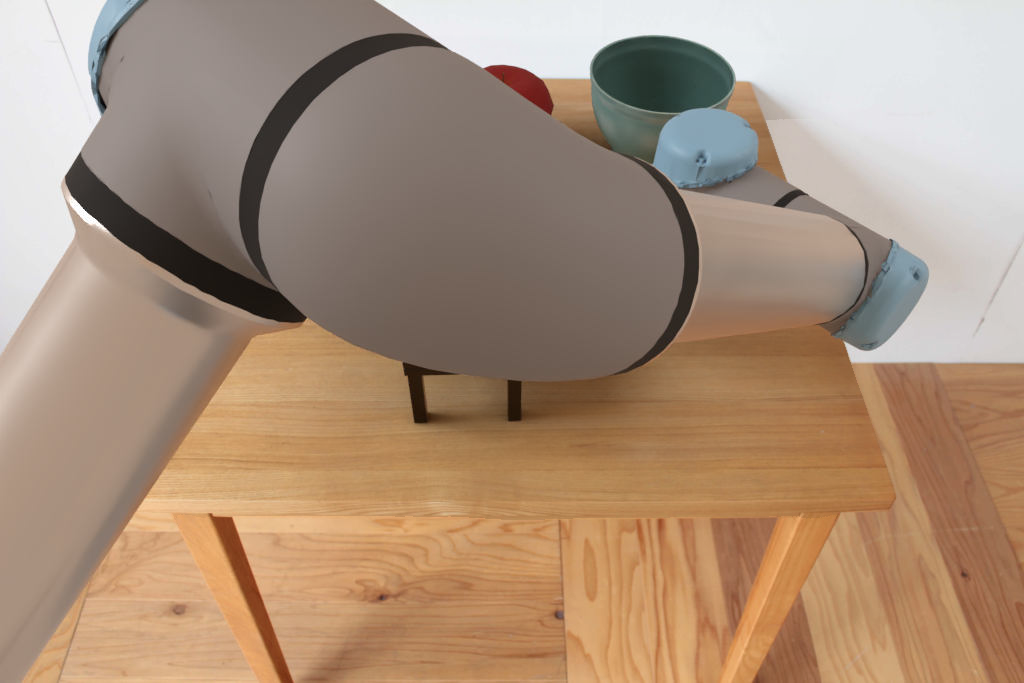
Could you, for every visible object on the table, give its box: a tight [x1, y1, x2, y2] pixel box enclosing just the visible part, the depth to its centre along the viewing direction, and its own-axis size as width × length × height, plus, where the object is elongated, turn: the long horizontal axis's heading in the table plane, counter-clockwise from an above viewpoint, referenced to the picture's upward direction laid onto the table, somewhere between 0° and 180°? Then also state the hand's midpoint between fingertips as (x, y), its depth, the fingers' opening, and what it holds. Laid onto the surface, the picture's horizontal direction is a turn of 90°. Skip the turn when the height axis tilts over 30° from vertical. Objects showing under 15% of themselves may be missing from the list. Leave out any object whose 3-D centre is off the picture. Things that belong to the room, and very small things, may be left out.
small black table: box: [401, 362, 523, 424], centre depth 76 cm, size 10×10×9 cm
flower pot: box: [589, 34, 737, 165], centre depth 99 cm, size 16×16×11 cm
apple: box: [482, 64, 555, 116], centre depth 98 cm, size 11×11×12 cm
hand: (381, 173), depth 85 cm, fingers open, 12 cm apart
